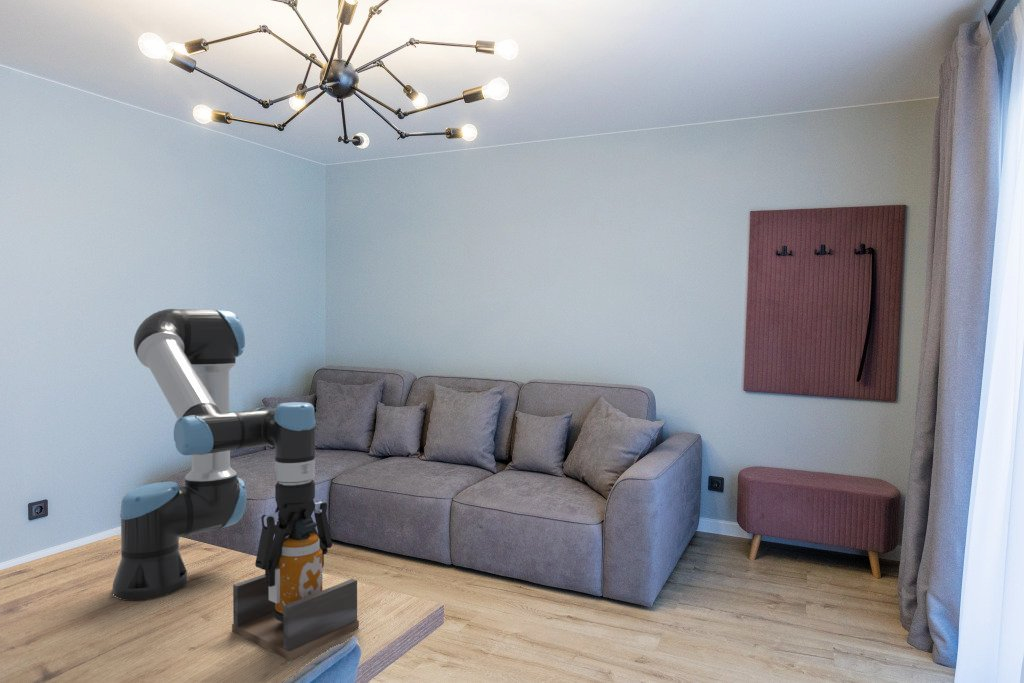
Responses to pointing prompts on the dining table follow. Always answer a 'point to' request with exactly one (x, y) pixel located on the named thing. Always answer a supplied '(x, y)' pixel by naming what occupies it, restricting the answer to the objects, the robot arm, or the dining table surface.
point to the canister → (299, 565)
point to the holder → (294, 617)
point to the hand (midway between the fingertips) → (295, 592)
